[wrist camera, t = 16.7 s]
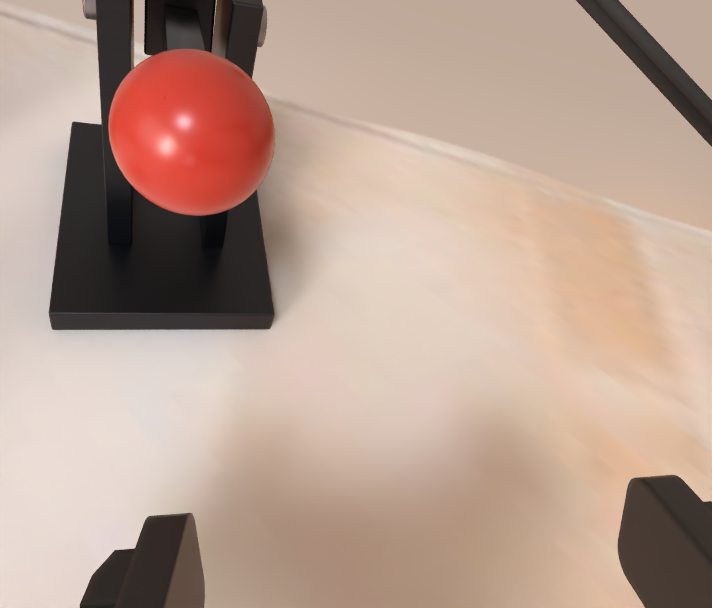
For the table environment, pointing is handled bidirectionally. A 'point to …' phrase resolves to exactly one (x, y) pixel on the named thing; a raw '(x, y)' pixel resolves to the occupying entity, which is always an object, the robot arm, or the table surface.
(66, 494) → the table surface
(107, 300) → the bracket
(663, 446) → the table surface
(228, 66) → the lever
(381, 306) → the table surface
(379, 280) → the table surface
